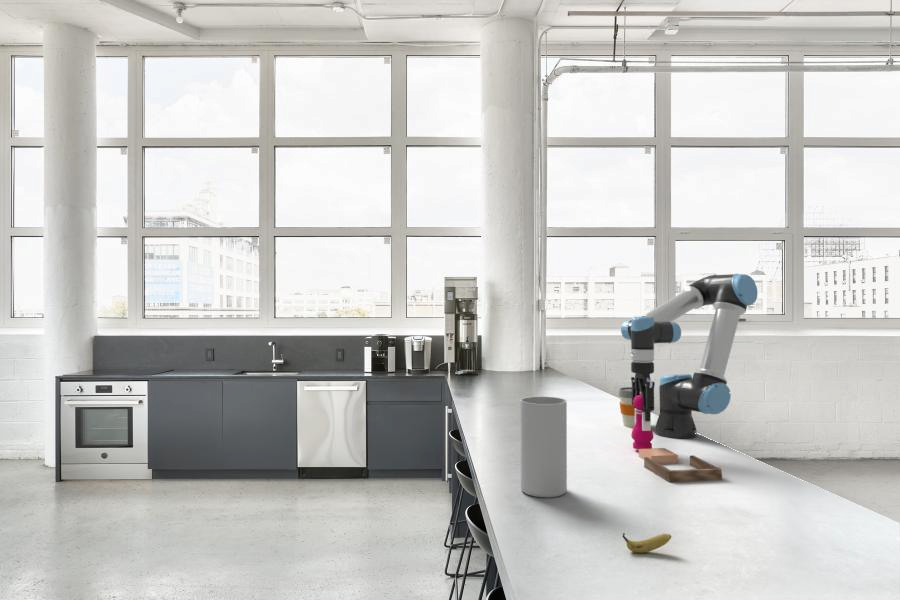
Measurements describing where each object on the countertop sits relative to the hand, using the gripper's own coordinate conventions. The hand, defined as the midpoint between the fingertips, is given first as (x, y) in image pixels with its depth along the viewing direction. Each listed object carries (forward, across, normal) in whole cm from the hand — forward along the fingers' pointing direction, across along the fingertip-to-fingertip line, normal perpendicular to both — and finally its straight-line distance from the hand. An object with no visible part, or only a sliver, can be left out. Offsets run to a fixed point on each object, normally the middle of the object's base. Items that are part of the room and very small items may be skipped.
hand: (642, 428), depth 210 cm
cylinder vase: (+8, +38, -46) cm, 60 cm away
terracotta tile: (+8, +11, 0) cm, 14 cm away
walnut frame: (+8, +26, 0) cm, 27 cm away
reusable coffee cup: (+8, -40, +15) cm, 43 cm away
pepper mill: (+7, 0, 0) cm, 7 cm away
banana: (+8, +79, -35) cm, 87 cm away
